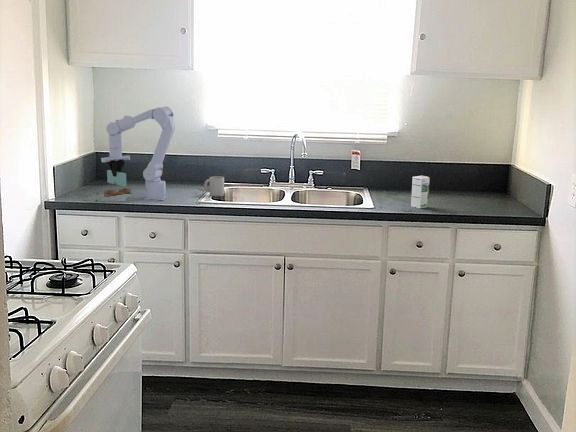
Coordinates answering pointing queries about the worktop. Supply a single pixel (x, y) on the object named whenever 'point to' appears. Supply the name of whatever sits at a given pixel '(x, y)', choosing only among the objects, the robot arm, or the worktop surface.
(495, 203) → the worktop surface
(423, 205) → the syrup box
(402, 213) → the worktop surface
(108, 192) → the brown notched bar
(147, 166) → the robot arm
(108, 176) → the teal bar
